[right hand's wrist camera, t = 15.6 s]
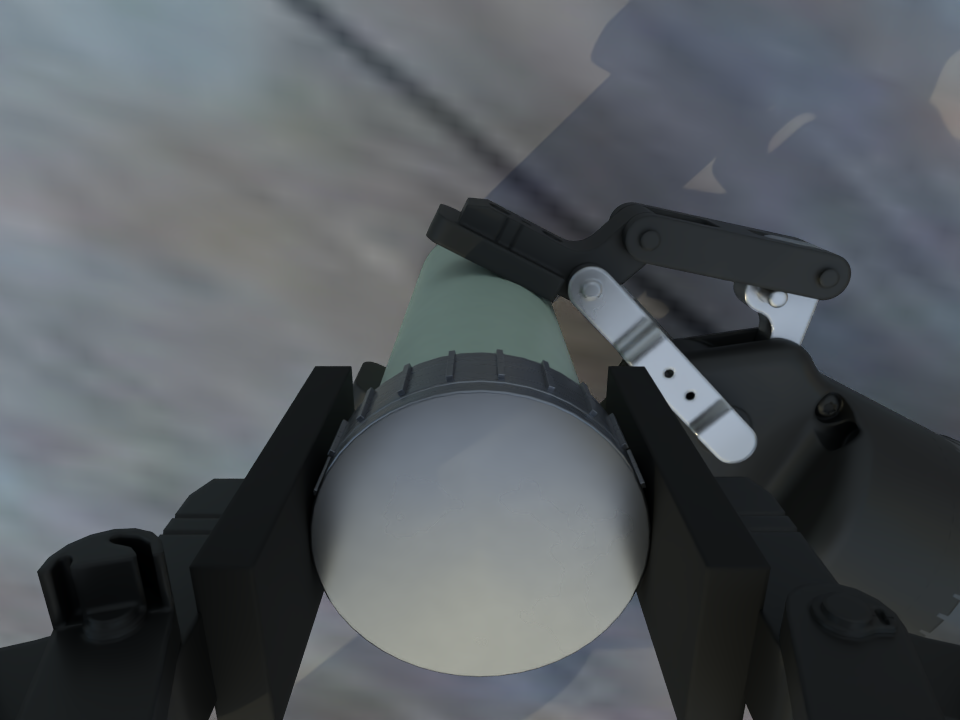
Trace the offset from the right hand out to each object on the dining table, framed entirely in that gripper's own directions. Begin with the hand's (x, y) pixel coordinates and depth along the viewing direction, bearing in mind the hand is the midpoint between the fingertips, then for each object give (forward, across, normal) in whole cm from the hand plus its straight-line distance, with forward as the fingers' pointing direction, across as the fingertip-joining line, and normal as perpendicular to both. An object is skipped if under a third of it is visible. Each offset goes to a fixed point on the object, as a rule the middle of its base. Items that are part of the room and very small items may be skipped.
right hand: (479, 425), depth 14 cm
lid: (-4, 0, 0) cm, 4 cm away
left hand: (+5, -2, +1) cm, 6 cm away
